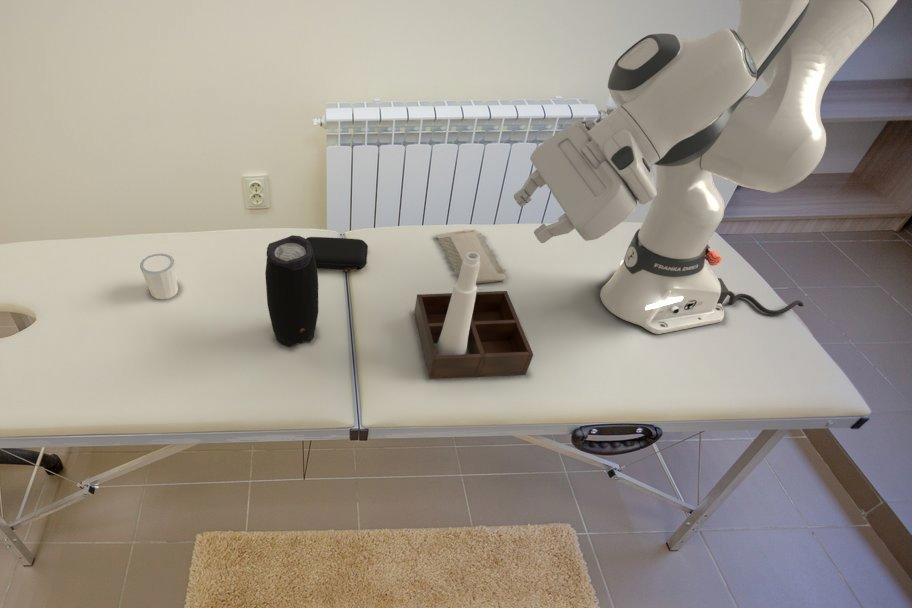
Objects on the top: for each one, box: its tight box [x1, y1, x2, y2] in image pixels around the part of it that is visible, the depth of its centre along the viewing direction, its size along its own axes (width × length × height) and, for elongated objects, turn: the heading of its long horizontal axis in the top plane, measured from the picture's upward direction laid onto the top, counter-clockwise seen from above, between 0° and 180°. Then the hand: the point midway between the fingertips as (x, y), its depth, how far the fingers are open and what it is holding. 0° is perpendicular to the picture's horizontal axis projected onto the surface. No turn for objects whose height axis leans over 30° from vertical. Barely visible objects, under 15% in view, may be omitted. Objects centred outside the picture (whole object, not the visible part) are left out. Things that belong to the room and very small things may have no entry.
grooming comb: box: [436, 229, 507, 284], centre depth 124 cm, size 18×10×1 cm, turn 9°
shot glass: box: [139, 253, 179, 300], centre depth 116 cm, size 7×7×7 cm
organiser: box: [413, 290, 534, 380], centre depth 105 cm, size 17×17×5 cm
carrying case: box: [305, 236, 369, 273], centre depth 124 cm, size 11×3×15 cm
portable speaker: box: [264, 235, 319, 348], centre depth 102 cm, size 9×9×20 cm
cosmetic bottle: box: [435, 252, 480, 356], centre depth 96 cm, size 6×6×22 cm
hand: (526, 219), depth 83 cm, fingers open, 8 cm apart
